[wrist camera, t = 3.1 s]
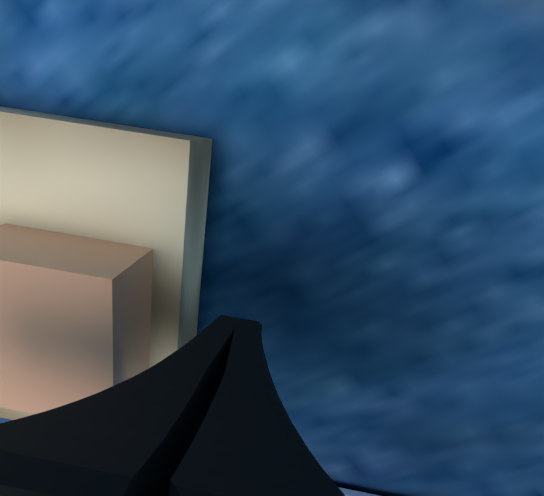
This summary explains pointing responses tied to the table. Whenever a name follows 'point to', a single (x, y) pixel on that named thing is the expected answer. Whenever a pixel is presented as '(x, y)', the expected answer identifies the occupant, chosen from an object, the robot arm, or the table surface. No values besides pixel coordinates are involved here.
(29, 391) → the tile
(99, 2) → the table surface
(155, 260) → the board
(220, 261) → the table surface
